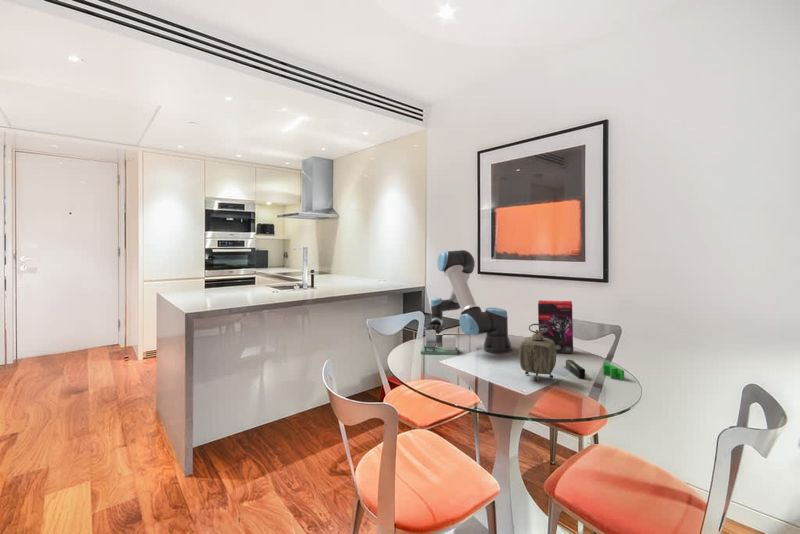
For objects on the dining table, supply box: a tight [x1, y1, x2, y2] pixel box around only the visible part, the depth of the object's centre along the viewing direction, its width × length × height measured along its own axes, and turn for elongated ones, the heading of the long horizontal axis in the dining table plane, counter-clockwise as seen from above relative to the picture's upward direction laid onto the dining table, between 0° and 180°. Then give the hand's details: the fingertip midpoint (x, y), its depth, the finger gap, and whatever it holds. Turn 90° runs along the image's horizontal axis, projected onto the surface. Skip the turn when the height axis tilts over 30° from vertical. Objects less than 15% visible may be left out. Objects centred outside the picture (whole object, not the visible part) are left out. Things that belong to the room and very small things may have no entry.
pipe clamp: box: [602, 361, 625, 381], centre depth 168 cm, size 11×4×5 cm, turn 10°
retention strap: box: [424, 329, 437, 347], centre depth 215 cm, size 6×4×10 cm, turn 79°
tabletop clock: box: [518, 323, 557, 382], centre depth 167 cm, size 14×9×25 cm, turn 59°
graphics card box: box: [537, 300, 574, 354], centre depth 203 cm, size 17×7×27 cm, turn 68°
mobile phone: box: [563, 359, 586, 380], centre depth 173 cm, size 5×3×15 cm
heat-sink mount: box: [420, 334, 459, 355], centre depth 213 cm, size 20×8×9 cm, turn 79°
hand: (431, 334), depth 221 cm, fingers closed
